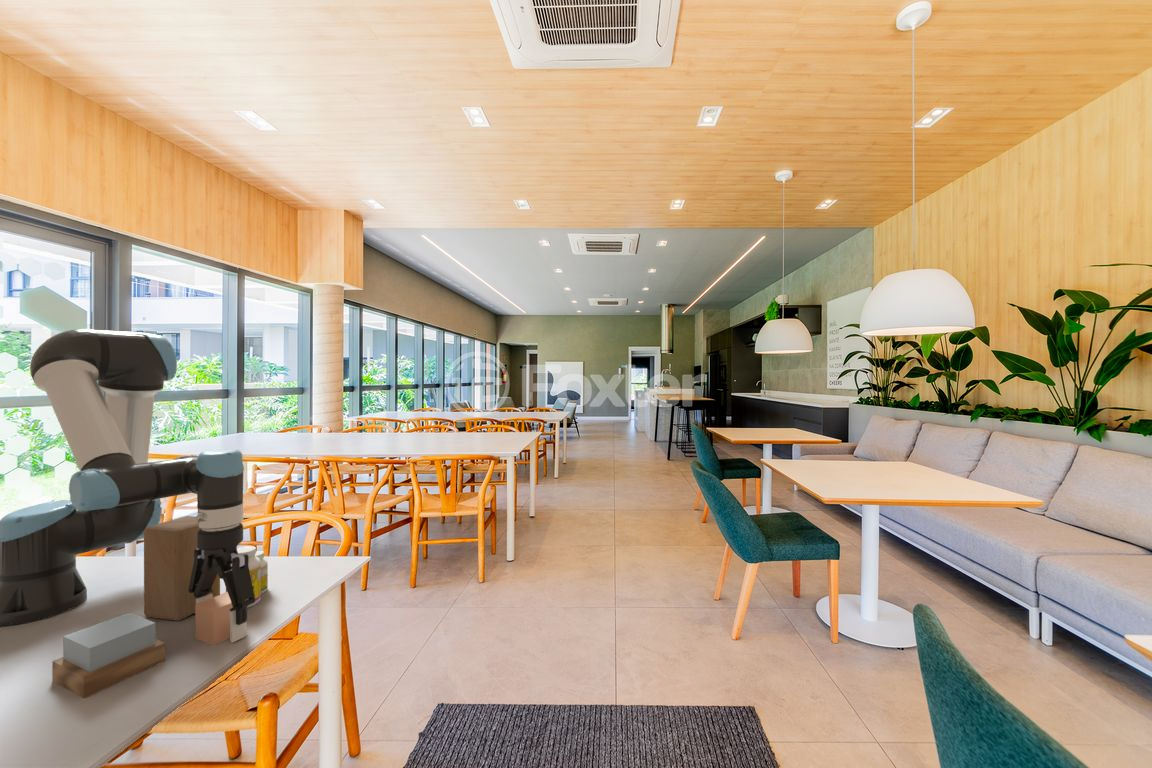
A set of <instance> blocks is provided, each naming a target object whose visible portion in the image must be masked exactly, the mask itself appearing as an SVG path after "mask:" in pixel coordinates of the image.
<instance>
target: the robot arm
mask: <svg viewBox="0 0 1152 768" xmlns="http://www.w3.org/2000/svg"><path fill="white" fill-rule="evenodd" d="M29 368H30V369H29V370H30V376H31V378H32V381H33V383H34V385H35V387H36V388H38V389H40V390H41V391H42V392H45V393H46V395H47V398H48V400H49V402H50V404H51V407H52V409H53V412H54V414H55V416H56V418H57V421H58V423H59V426H60V428H61V430H62V433H63V435H64V437H65V439H66V441H67V444H68V447H69V448H70V451H71V454H72V456H73V459H74V461H75V463H76V465H77V468H78V471H76V472H75V473H73V474H72V475H71V477H70V480H69V483H68V494H69V496H70V497H69V499H63V500H56V501H48V502H43V503H38V504H35V505H30V506H27V507H23V508H20V509H17V510H14V511H12V512H10V513H8V514H6V515H4V516H3V517H2V518H1V519H0V627H5V626H13V625H20V624H25V623H31V622H35V621H39V620H42V619H46V618H50V617H53V616H56V615H58V614H59V615H60V614H62V613H64V612H67V611H69V610H71V609H74V608H76V607H77V606H80V605H81V604H83V603H84V602H85V601H86V600H87V598H88V593H87V592H88V590H87V585H85V584H86V583H85V582H84V581H83V579H82V576H81V575H80V573H79V571H78V569H77V559H76V558H77V555H81V554H84V553H90V552H93V551H98V550H102V549H106V548H111V547H115V546H119V545H123V544H132V543H133V542H136V541H139V540H142V539H143V540H144V530H145V528H147V527H149V526H153V525H156V524H160V522H161V518H162V513H163V512H162V511H163V510H162V509H163V508H162V506H161V505H162V501H161V499H164V498H171V497H177V496H182V495H187V494H195V495H196V496H197V497H196V498H197V499H196V500H197V505H196V508H197V515H196V516H195V517H196V519H197V520H198V527H199V528H200V530H199V531H198V532H197V547H198V549H195V550H194V564H193V569H192V574H191V579H190V584H189V589H188V591H189V593H194V597H195V598H196V604H198V603H200V602H203V601H205V600H208V599H210V598H213V594H208V595H207V593H210V592H213V591H211V590H213V589H212V585H213V583H214V580H215V578H216V576H217V573H218V575H219V577H220V580H221V579H222V580H223V583H224V586H225V590H226V589H227V592H228V594H229V597H230V600H231V603H232V606H233V607H232V608H231V609H229V610H230V638H229V642H230V643H235V642H236V641H239V640H241V639H243V638H245V637H247V636H248V635H247V633H248V632H247V623H248V622H247V621H248V608H247V606H248V605H250V604H253V603H255V596H254V591H253V586H252V581H251V576H250V571H249V566H248V558H249V557H248V555H247V554H244V555H238V552H237V548H238V546H239V545H240V544H241V543H242V542H243V540H244V524H243V523H242V522H244V471H245V467H244V461H243V460H244V459H243V458H244V457H243V453H242V452H241V451H240V450H238V449H228V448H227V449H215V450H206V451H202V452H200V453H199V454H198V455H193V454H191V455H183V456H181V455H180V456H178V457H175V458H173V459H168V460H167V459H166V460H159V461H158V460H157V461H150V462H149V461H148V460H149V453H150V452H149V451H150V443H151V434H152V433H151V432H152V422H153V414H154V404H155V403H154V402H155V400H154V399H155V395H156V394H158V393H159V392H161V391H162V390H164V384H165V382H168V381H171V380H173V379H174V378H175V375H176V374H177V369H178V361H177V356H176V352H175V349H174V348H173V345H172V344H171V343H170V341H169V340H168V339H167V338H166V337H165V336H162V335H160V334H153V333H146V332H136V331H117V330H102V329H100V330H99V329H91V328H75V329H70V330H65V331H63V332H59V333H57V334H54V335H53V336H51V337H49V338H48V339H46V340H45V341H44V342H43V343H41V345H39V346H38V348H36V350H35V351H34V353H33V355H32V357H31V359H30V365H29ZM101 390H102V391H103V392H105V393H106V394H105V395H106V396H104V394H103V393H102V391H101ZM231 569H232V570H231ZM230 570H231V571H230ZM227 571H228V572H227ZM197 583H198V584H197ZM195 584H197V585H195ZM248 598H249V599H248Z"/></svg>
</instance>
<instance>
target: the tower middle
mask: <svg viewBox="0 0 1152 768" xmlns="http://www.w3.org/2000/svg"><path fill="white" fill-rule="evenodd" d="M155 639H156V622H155V621H152V620H150V619H147V618H144V617H141V616H138V615H136V614H133V613H131V612H127V613H124V614H121V615H119V616H116V617H114V618H111V619H110V618H109V619H107V620H106V621H102V622H99V623H97V624H94V625H92V626H89V627H86V628H82V629H80V630H78V631H75V632H72V633H69V634H66V635H63V636H62V641H63V643H62V645H63V646H62V655H63V656H62V657H63V659H64V660H66V661H68V662H70V663H72V664H74V665H76V666H78V667H80V668H82V669H84V670H86V671H88V672H91V671H93V670H96V669H98V668H100V667H103V666H105V665H108V664H110V663H112V662H115V661H117V660H119V659H122V658H124V657H126V656H129V655H131V654H133V653H136V652H138V651H140V650H143V649H145V648H147V647H150V646H152V645H154V644H155Z"/></svg>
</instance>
